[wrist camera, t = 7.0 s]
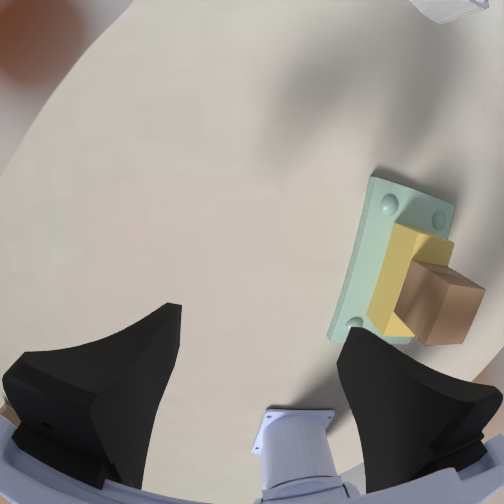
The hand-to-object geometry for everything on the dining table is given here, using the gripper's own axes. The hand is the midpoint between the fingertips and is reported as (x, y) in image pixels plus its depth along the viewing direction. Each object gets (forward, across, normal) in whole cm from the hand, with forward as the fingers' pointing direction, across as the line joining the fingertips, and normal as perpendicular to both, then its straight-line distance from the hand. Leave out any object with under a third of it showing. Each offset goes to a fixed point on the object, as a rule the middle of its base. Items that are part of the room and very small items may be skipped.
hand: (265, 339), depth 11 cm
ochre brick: (+9, -12, -1) cm, 15 cm away
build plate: (+10, -12, -1) cm, 16 cm away
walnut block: (+6, -12, -1) cm, 13 cm away
